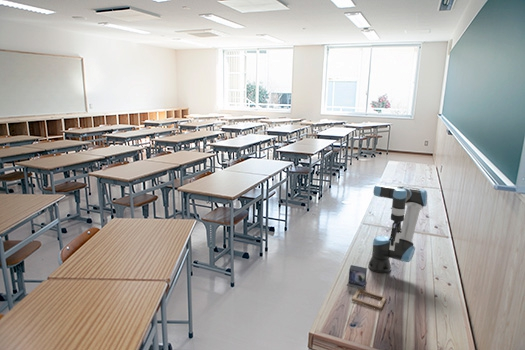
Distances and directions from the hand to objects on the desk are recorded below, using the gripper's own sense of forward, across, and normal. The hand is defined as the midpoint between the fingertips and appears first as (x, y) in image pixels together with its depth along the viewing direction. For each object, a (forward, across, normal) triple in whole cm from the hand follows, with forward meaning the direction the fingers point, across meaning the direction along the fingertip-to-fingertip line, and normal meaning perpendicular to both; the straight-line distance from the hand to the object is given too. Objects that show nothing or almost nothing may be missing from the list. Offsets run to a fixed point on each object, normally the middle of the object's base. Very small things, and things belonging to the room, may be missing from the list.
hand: (394, 246), depth 211 cm
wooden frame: (+29, +22, -7) cm, 37 cm away
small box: (+28, +8, -19) cm, 35 cm away
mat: (+29, +8, -19) cm, 35 cm away
